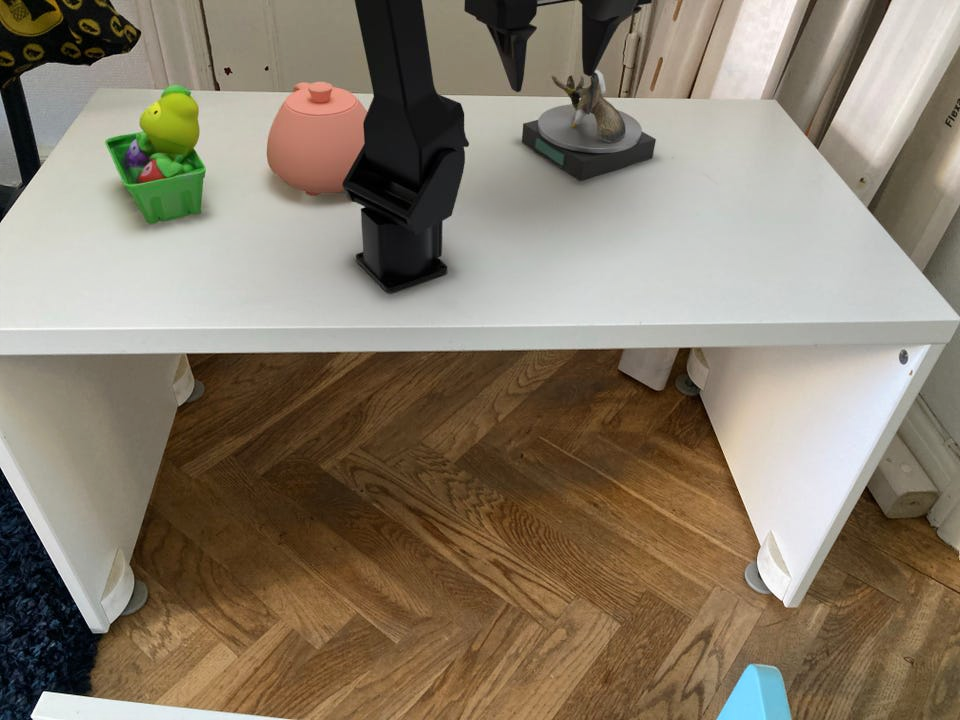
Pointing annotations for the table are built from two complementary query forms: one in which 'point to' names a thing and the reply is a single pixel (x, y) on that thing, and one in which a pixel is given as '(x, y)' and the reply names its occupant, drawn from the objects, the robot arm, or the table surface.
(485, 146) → the table surface
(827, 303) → the table surface
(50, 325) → the table surface
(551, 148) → the scale
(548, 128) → the scale pan
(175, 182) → the fruit basket
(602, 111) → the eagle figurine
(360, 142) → the sugar bowl
